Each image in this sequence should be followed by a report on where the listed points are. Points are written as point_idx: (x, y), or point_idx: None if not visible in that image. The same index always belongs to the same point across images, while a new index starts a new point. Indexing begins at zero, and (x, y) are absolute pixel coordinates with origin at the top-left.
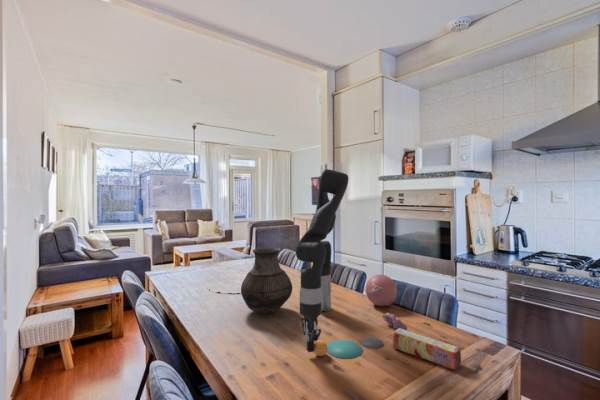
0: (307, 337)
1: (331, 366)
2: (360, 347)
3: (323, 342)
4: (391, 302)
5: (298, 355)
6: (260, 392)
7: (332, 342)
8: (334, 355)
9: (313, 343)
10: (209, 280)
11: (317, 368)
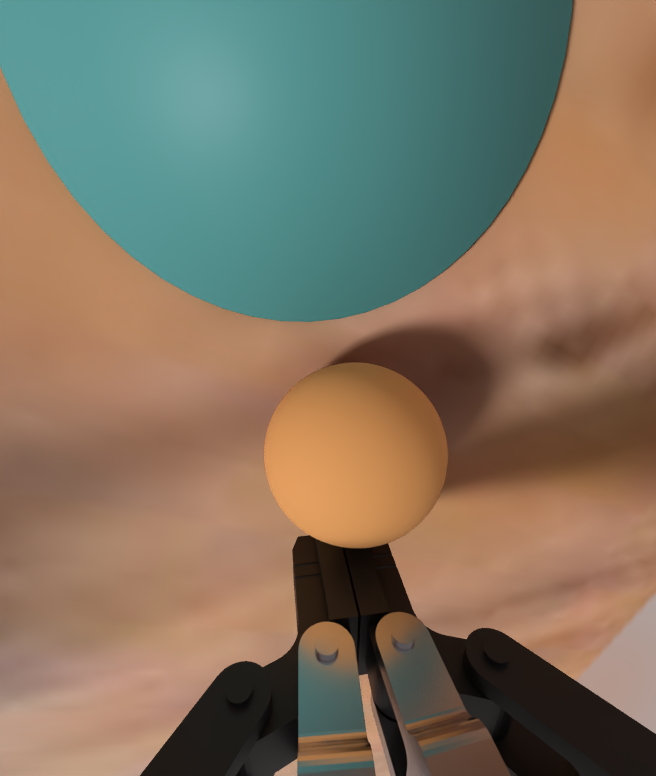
0: (379, 729)
1: (543, 382)
2: None
3: (417, 475)
4: None
5: (269, 570)
6: None
7: (64, 128)
8: (415, 280)
9: (408, 600)
10: None
11: (504, 488)
